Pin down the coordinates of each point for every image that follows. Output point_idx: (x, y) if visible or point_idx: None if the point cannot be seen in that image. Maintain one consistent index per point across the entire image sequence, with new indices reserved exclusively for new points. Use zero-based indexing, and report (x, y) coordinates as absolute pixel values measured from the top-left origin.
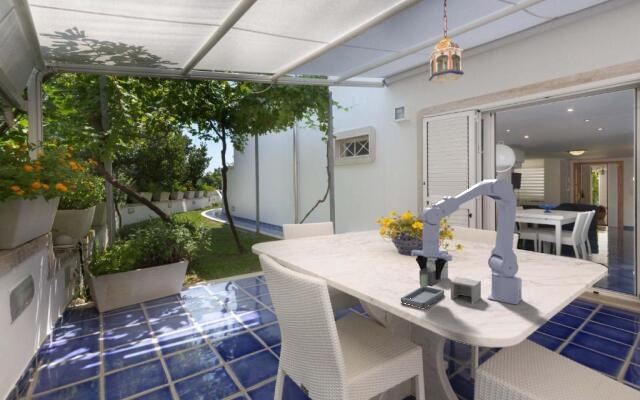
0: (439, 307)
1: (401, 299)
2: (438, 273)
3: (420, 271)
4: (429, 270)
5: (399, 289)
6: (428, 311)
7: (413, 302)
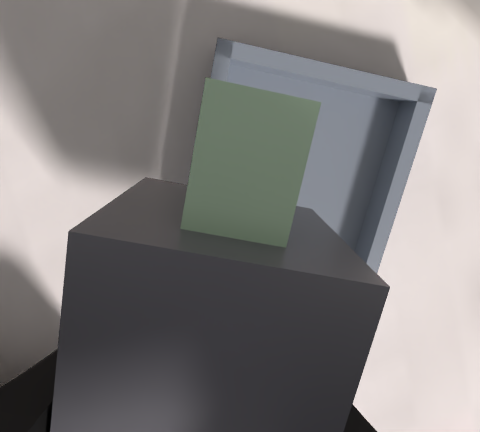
0: (120, 147)
1: (423, 89)
2: (17, 379)
3: (356, 272)
4: (173, 373)
5: (469, 376)
6: (171, 16)
7: (311, 61)
